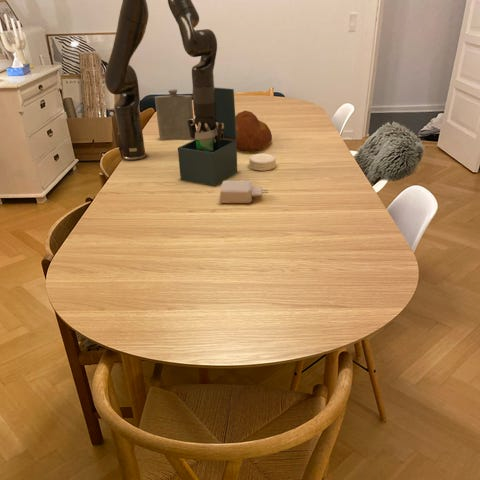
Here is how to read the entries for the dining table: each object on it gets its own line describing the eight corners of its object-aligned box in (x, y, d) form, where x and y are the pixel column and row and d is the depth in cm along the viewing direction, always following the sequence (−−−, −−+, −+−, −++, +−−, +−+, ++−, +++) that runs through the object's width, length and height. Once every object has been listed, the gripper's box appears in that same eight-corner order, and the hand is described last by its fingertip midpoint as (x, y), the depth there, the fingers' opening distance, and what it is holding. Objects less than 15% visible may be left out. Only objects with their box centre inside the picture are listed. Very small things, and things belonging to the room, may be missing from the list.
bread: (224, 155, 189) (222, 123, 182) (221, 133, 216) (220, 104, 208) (276, 153, 190) (276, 120, 183) (267, 131, 216) (267, 102, 209)
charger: (267, 204, 149) (220, 204, 150) (268, 193, 156) (223, 193, 157) (268, 190, 146) (220, 189, 147) (268, 179, 153) (223, 179, 154)
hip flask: (159, 140, 210) (153, 91, 198) (160, 137, 213) (154, 89, 201) (194, 139, 209) (190, 90, 197) (195, 136, 212) (191, 88, 200)
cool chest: (215, 186, 163) (213, 153, 156) (180, 180, 169) (177, 147, 162) (237, 172, 173) (236, 140, 167) (204, 166, 179) (201, 136, 173)
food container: (214, 163, 161) (212, 133, 155) (197, 163, 162) (194, 133, 157) (222, 152, 171) (220, 124, 165) (206, 152, 172) (204, 123, 166)
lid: (232, 89, 156) (240, 85, 159) (195, 86, 161) (204, 82, 165) (235, 139, 166) (243, 134, 170) (201, 135, 172) (209, 130, 176)
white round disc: (243, 167, 177) (243, 158, 175) (261, 160, 183) (261, 151, 181) (264, 173, 172) (264, 163, 170) (281, 166, 178) (281, 156, 175)
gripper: (228, 99, 156) (230, 151, 166) (192, 96, 161) (196, 146, 171) (217, 104, 150) (219, 157, 160) (180, 100, 156) (185, 152, 166)
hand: (207, 151), depth 166 cm, fingers closed on food container, 5 cm apart
